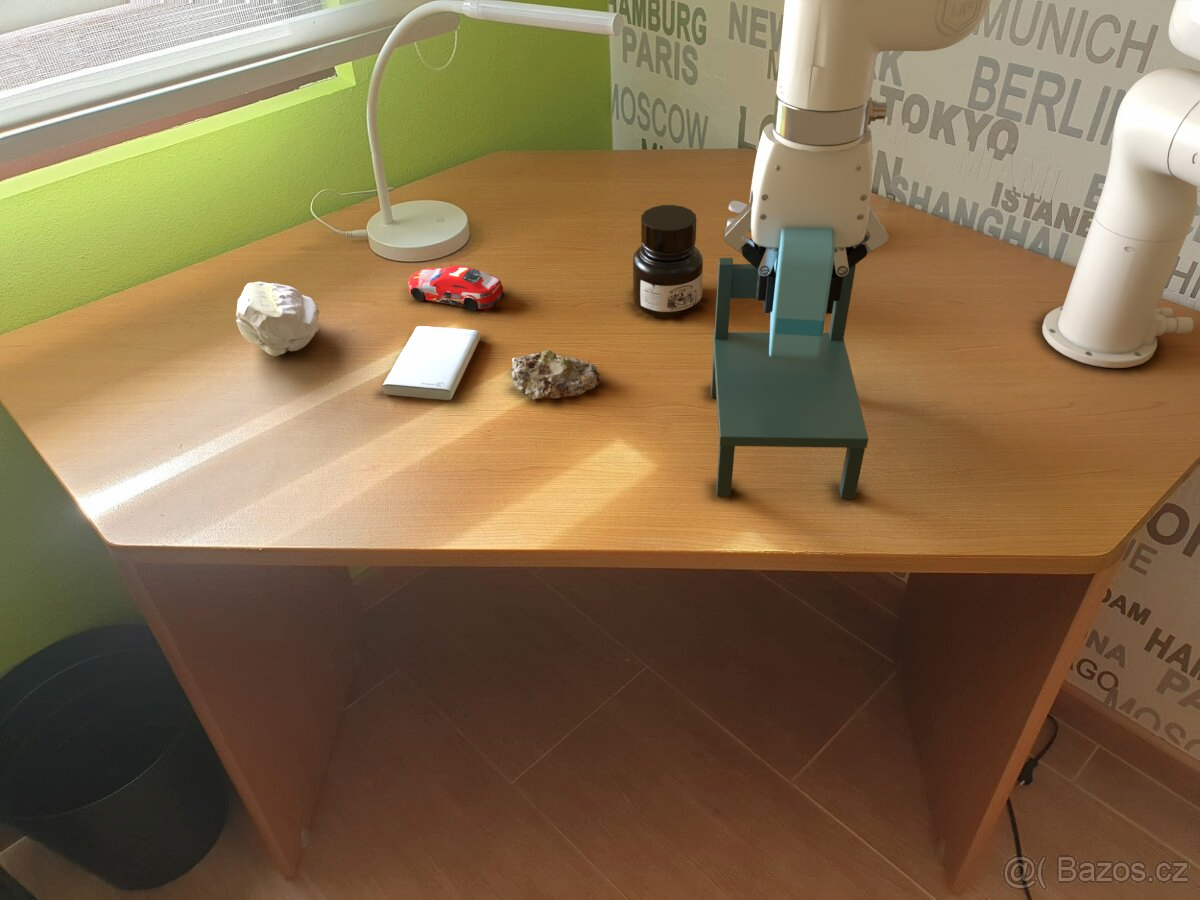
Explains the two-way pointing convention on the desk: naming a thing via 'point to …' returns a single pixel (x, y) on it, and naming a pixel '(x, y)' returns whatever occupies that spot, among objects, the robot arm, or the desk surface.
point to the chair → (782, 387)
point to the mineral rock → (552, 375)
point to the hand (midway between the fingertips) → (796, 304)
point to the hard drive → (432, 363)
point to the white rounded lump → (276, 317)
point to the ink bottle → (667, 263)
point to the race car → (456, 287)
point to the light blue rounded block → (801, 292)
